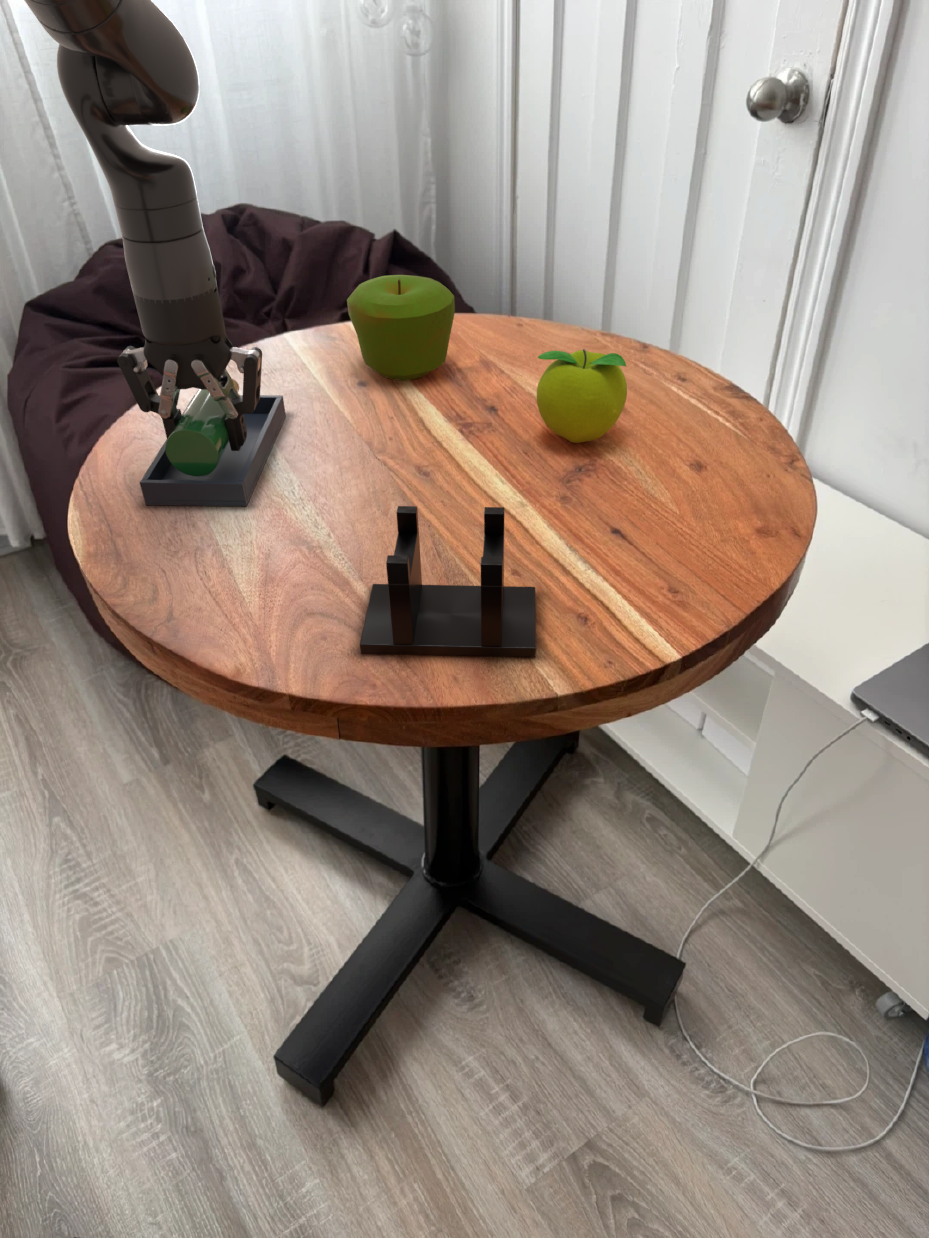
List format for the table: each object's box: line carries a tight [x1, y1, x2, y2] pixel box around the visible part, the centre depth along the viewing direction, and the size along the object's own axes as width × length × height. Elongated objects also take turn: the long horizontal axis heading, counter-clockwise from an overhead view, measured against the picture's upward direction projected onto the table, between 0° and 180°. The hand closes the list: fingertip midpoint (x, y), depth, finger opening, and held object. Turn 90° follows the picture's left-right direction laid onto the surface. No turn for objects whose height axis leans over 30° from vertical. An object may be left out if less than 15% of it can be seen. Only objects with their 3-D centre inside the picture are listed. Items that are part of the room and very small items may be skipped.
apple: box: [346, 274, 456, 382], centre depth 112 cm, size 12×12×11 cm
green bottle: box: [165, 378, 240, 476], centre depth 96 cm, size 15×5×5 cm, turn 177°
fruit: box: [536, 348, 628, 444], centre depth 98 cm, size 9×9×10 cm
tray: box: [139, 394, 287, 507], centre depth 98 cm, size 19×10×3 cm, turn 177°
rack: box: [359, 505, 537, 658], centre depth 74 cm, size 14×8×9 cm, turn 87°
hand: (209, 446), depth 95 cm, fingers closed on green bottle, 5 cm apart
